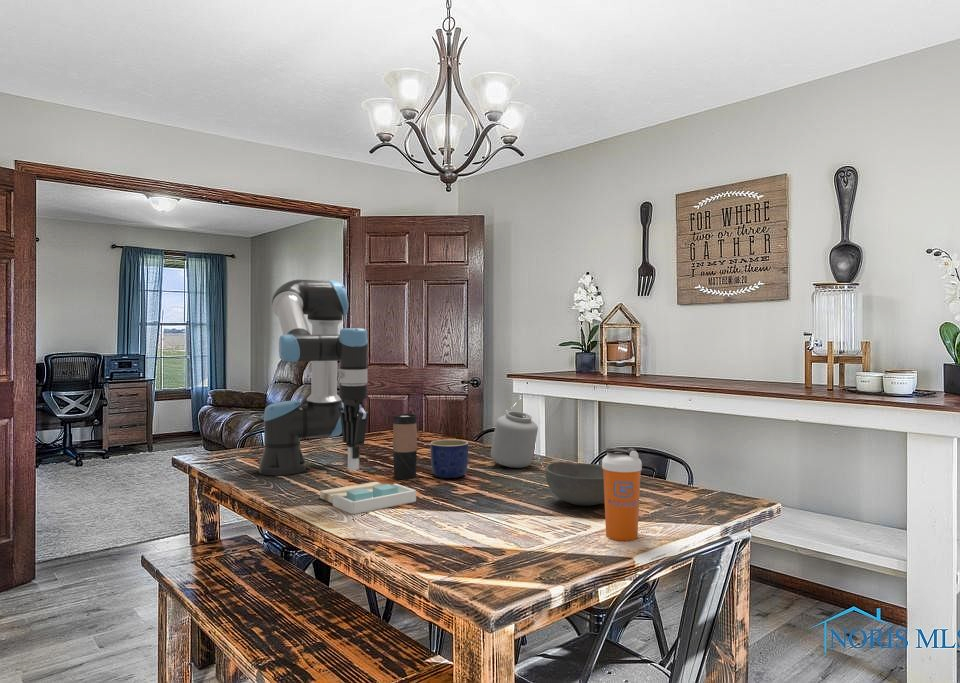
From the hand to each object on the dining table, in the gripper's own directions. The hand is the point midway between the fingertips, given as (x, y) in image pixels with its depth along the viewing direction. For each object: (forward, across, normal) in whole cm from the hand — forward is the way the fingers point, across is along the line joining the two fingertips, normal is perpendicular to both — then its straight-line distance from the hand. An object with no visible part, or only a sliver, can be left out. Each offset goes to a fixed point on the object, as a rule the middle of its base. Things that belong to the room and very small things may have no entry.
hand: (353, 469), depth 176 cm
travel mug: (+10, -17, +28) cm, 34 cm away
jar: (+10, -6, +67) cm, 68 cm away
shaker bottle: (+8, +66, +33) cm, 74 cm away
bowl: (+9, +42, +47) cm, 64 cm away
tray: (+9, +5, +4) cm, 11 cm away
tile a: (+8, +4, +8) cm, 12 cm away
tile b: (+8, +4, 0) cm, 9 cm away
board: (+9, -5, +4) cm, 11 cm away
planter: (+10, -9, +40) cm, 42 cm away
